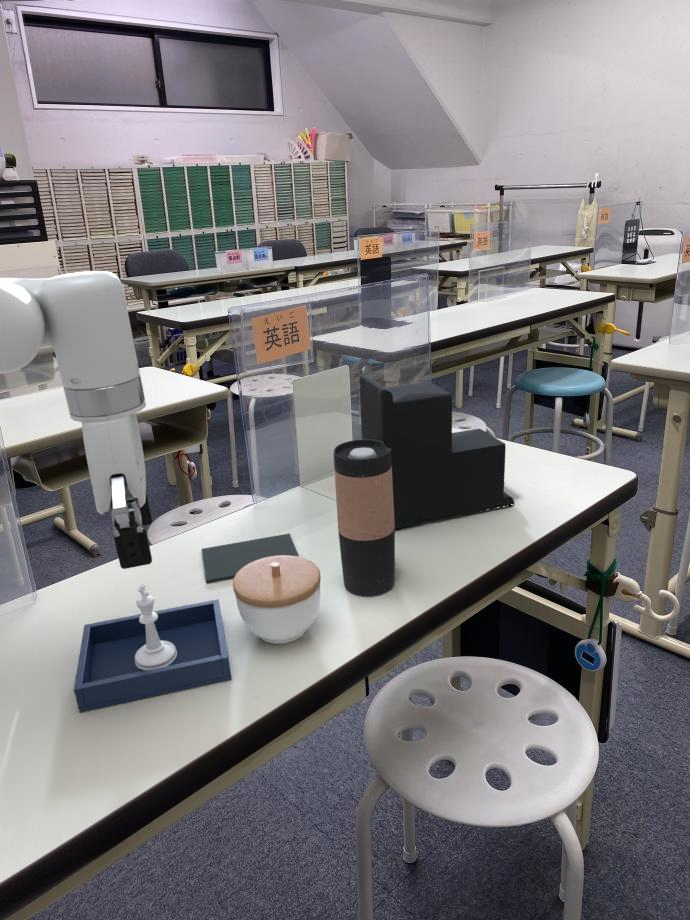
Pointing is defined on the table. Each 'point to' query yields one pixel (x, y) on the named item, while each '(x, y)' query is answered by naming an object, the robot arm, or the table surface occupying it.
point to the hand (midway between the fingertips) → (137, 544)
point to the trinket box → (278, 597)
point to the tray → (119, 680)
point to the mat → (243, 555)
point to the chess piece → (152, 638)
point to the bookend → (432, 453)
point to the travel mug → (365, 516)
